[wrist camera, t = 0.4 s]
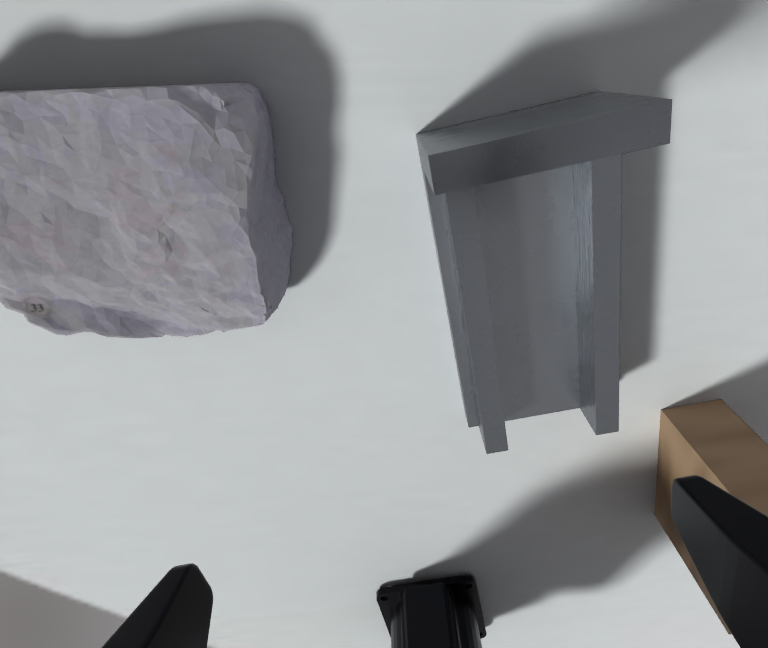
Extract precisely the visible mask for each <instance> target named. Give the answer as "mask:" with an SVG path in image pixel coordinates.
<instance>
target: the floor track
mask: <svg viewBox="0 0 768 648" xmlns="http://www.w3.org/2000/svg"><path fill="white" fill-rule="evenodd" d="M671 112H672V99H665V98H656V97H648V96H639V95H630V94H621V93H612V92H604V91H598V92H594V93H590V94H586V95H581V96H577V97H573V98H569V99H564V100H560V101H556V102H552V103H547V104H543V105H539V106H535V107H530V108H526V109H522V110H518V111H513V112H509V113H505V114H501V115H496V116H492V117H488V118H484V119H479V120H475V121H471V122H467V123H462V124H458V125H454V126H450V127H445V128H441V129H437V130H433V131H428V132H424V133H420V134H416V138H417V143H418V149H419V155H420V160H421V166H422V172H423V177H424V183H425V188H426V194H427V200H428V205H429V211H430V217H431V222H432V228H433V234H434V239H435V245H436V251H437V256H438V262H439V267H440V273H441V279H442V284H443V290H444V296H445V301H446V307H447V313H448V318H449V324H450V330H451V335H452V341H453V346H454V352H455V358H456V363H457V369H458V375H459V380H460V386H461V392H462V397H463V403H464V409H465V414H466V418H467V422H468V426H469V427H474V426H479V428H480V432H481V435H482V439H483V443H484V446H485V450H486V453H487V454H489V453H495V452H501V451H507V450H508V444H507V437H506V429H505V421H508V420H514V419H519V418H525V417H530V416H536V415H542V414H547V413H553V412H559V411H564V410H570V409H575V408H580V409H581V410H582V412H583V414H584V416H585V417H586V419H587V421H588V422H589V424H590V426H591V427H592V429H593V431H594V432H595V434H596V435H600V434H605V433H611V432H617V431H619V349H620V263H621V177H622V154H624V153H628V152H633V151H637V150H642V149H646V148H651V147H655V146H660V145H664V144H668V143H670V130H671Z"/></svg>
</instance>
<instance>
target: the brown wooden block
mask: <svg viewBox="0 0 768 648" xmlns="http://www.w3.org/2000/svg"><path fill="white" fill-rule="evenodd" d="M691 475H698V476H701V477H703V478H705V479H706V480H708V481H710V482H711V483H713V484H715V485H716V486H718V487H720V488H721V489H723V490H725V491H726V492H728V493H730V494H731V495H733V496H735V497H736V498H738V499H740V500H741V501H743V502H745V503H746V504H748V505H750V506H751V507H753V508H755V509H756V510H758V511H760V512H761V513H763V514H765V515H766V516H768V445H767V444H766V443H765V442H764V441H763V440H762V439H761V438H760V437H759V436H758V435H757V434H756V433H755V432H754V431H753V430H752V429H751V428H750V427H749V426H748V425H747V424H746V423H745V422H744V421H743V420H742V419H741V418H740V417H739V416H738V415H737V414H736V413H735V412H733V411H732V410H731V409H730V408H729V407H728V406H727V405H726V404H725V403H724V402H723V401H722V400H721V399H718V400H713V401H707V402H701V403H696V404H690V405H684V406H678V407H673V408H667V409H661V416H660V432H659V448H658V464H657V480H656V495H655V511H654V514H655V516H656V517H657V519H658V521H659V522H660V524H661V525H662V527H663V529H664V530H665V532H666V533H667V535H668V537H669V538H670V540H671V542H672V543H673V545H674V546H675V548H676V550H677V551H678V553H679V554H680V556H681V558H682V559H683V561H684V563H685V564H686V566H687V567H688V569H689V571H690V572H691V574H692V575H693V577H694V579H695V580H696V582H697V584H698V585H699V587H700V588H701V590H702V592H703V593H704V595H705V597H706V598H707V600H708V601H709V603H710V605H711V606H712V608H713V609H714V611H715V613H716V614H717V616H718V618H719V619H720V621H721V622H722V624H723V626H724V627H725V629H726V630H727V632H728V634H732V633H731V632H730V630H729V628H728V627H727V625H726V623H725V622H724V620H723V618H722V617H721V615H720V613H719V612H718V610H717V608H716V606H715V604H714V602H713V600H712V598H711V596H710V594H709V592H708V590H707V588H706V586H705V584H704V582H703V580H702V578H701V576H700V574H699V572H698V570H697V568H696V566H695V564H694V562H693V560H692V558H691V556H690V554H689V552H688V550H687V548H686V546H685V544H684V542H683V540H682V538H681V536H680V534H679V532H678V530H677V528H676V526H675V524H674V522H673V519H672V516H671V490H672V482H673V480H674V479H676V478H680V477H686V476H691Z"/></svg>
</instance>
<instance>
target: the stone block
mask: <svg viewBox="0 0 768 648" xmlns="http://www.w3.org/2000/svg"><path fill="white" fill-rule="evenodd" d="M284 201H285V199H284V197H283V195H282V193H281V191H280V189H279V187H278V186H277V181H276V173H275V157H274V144H273V136H272V129H271V124H270V117H269V114H268V110H267V105H266V104H265V102H264V99H263V96H262V94H261V93H260V91H259V90H258V88H257V87H255V86H254V85H252V84H250V83H249V82H240V83H208V84H182V85H152V86H123V87H96V88H66V89H33V90H0V302H1V303H2V304H3V305H4V306H5V307H6V308H8V309H11V310H13V311H16V312H19V313H22V314H24V316H25V317H26V319H27V320H28V322H30V323H31V324H33V325H35V326H38V327H41V328H44V329H46V330H48V331H50V332H52V333H54V334H57V335H71V334H75V333H79V332H95V333H97V334H100V335H103V336H107V337H121V338H148V337H162V336H163V335H169V336H184V337H188V336H193V335H203V334H207V333H210V332H213V331H215V330H220V331H222V332H225V331H228V330H233V329H239V328H245V327H252V326H258V325H261V324H263V323H264V322H265V321H266V320H268V318H269V317H270V316H271V314H272V313H273V312H274V311H275V310H276V309H277V308H278V305H279V303H280V302H281V299H282V298H283V296H284V294H285V292H286V289H287V285H288V281H289V276H290V271H291V268H290V258H291V250H292V246H293V240H292V235H293V229H292V227H291V224H290V221H289V218H288V215H287V212H286V208H285V205H284Z"/></svg>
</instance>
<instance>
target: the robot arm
mask: <svg viewBox="0 0 768 648" xmlns="http://www.w3.org/2000/svg"><path fill="white" fill-rule="evenodd" d="M671 516H672V519H673V522H674V524H675V526H676V528H677V530H678V532H679V534H680V536H681V538H682V540H683V542H684V544H685V546H686V548H687V550H688V552H689V554H690V556H691V558H692V560H693V562H694V564H695V566H696V568H697V570H698V572H699V574H700V576H701V578H702V580H703V582H704V584H705V586H706V588H707V590H708V592H709V594H710V596H711V598H712V600H713V602H714V604H715V606H716V608H717V610H718V612H719V613H720V615H721V617H722V618H723V620H724V622H725V623H726V625H727V627H728V628H729V630H730V632H731V633H732V635H733V636H734V638H735V640H736V641H737V643H738V644H739V646H740V648H768V516H766V515H765V514H763V513H761V512H760V511H758V510H756V509H755V508H753V507H751V506H750V505H748V504H746V503H745V502H743V501H741V500H740V499H738V498H736V497H735V496H733V495H731V494H730V493H728V492H726V491H725V490H723V489H721V488H720V487H718V486H716V485H715V484H713V483H711V482H710V481H708V480H706V479H705V478H703V477H701V476H698V475H691V476H686V477H680V478H676V479H674V480H673V482H672V490H671ZM377 602H378V604H379V607H380V610H381V612H382V615H383V618H384V620H385V623H386V626H387V629H388V631H389V634H390V637H391V648H482V645H481V638H484V637H485V636H486V630H485V625H484V620H483V615H482V610H481V605H480V601H479V596H478V591H477V586H476V581H475V578H474V577H473V576H470V575H466V576H460V577H453V578H446V579H440V580H433V581H426V582H420V583H413V584H406V585H400V586H393V587H386V588H381V589H379V590H378V591H377ZM212 605H213V593H212V589H211V587H210V585H209V584H208V582H207V581H206V579H205V577H204V576H203V574H202V573H201V571H200V569H199V568H198V566H197V565H195V564H185V565H179V566H175V567H173V568H172V569H171V570H170V571H169V572H168V573H167V574H166V575H165V576H164V577H163V578H162V580H161V581H160V582H159V583H158V584H157V585H156V586H155V588H154V589H153V590H152V591H151V592H150V593H149V594H148V595H147V597H146V598H145V599H144V600H143V601H142V602H141V603H140V605H139V606H138V607H137V608H136V609H135V610H134V611H133V613H132V614H131V615H130V616H129V617H128V618H127V619H126V620H125V622H124V623H123V624H122V625H121V626H120V627H119V628H118V630H117V631H116V632H115V633H114V634H113V635H112V636H111V637H110V639H109V640H108V641H107V642H106V643H105V644H104V646H103V647H102V648H207V641H208V634H209V627H210V619H211V612H212Z"/></svg>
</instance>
